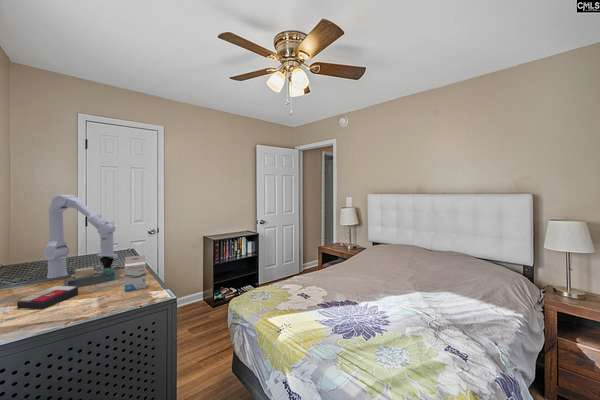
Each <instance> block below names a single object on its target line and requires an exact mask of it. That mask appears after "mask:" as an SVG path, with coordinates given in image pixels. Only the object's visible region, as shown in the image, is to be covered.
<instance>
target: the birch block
mask: <svg viewBox="0 0 600 400" xmlns="http://www.w3.org/2000/svg"><path fill="white" fill-rule="evenodd" d="M94 271H95V268H94V267H93V266H91V267H84V268H78V269H74V275H75V278H81V277H86V276H92V275H94Z"/></svg>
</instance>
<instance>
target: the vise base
mask: <svg viewBox="0 0 600 400" xmlns="http://www.w3.org/2000/svg"><path fill="white" fill-rule="evenodd" d="M118 280H123V278H122V277H121V275H120V274H119V273H118V271H116V270H115V274H111V275H105V274H98V275H92V276H86V277H81V278H75V279H72V277H71V278H66V279H63V285H64V286H72V287H78V288H81V287H86V286H87V287H88V286H92V285H96V284H98V285H99V284H102V283H103V284H104V283H107V282H113V281H118Z"/></svg>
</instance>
